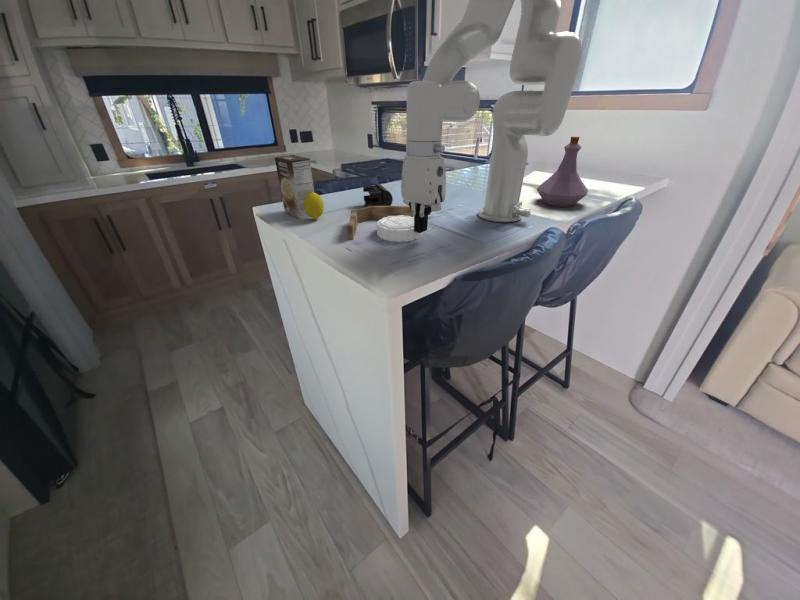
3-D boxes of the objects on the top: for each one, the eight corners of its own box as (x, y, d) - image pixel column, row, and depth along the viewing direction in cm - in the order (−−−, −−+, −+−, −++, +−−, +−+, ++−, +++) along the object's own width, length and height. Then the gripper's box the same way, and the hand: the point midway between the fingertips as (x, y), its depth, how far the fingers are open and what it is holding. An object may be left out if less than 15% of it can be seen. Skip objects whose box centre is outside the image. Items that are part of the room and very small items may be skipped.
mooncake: (431, 236, 84) (432, 223, 83) (392, 246, 79) (392, 232, 77) (405, 223, 93) (405, 211, 91) (368, 231, 87) (367, 218, 85)
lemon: (308, 223, 92) (304, 194, 88) (304, 218, 96) (299, 190, 92) (327, 220, 94) (324, 192, 90) (322, 215, 99) (318, 188, 94)
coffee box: (283, 213, 101) (273, 156, 92) (301, 208, 105) (293, 154, 96) (300, 219, 95) (290, 160, 87) (318, 214, 99) (310, 157, 91)
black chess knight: (393, 211, 103) (392, 189, 99) (371, 213, 101) (370, 190, 97) (384, 202, 111) (383, 182, 107) (363, 204, 109) (362, 183, 105)
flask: (549, 194, 120) (564, 133, 110) (595, 204, 109) (615, 137, 98) (523, 201, 112) (535, 136, 101) (569, 213, 101) (589, 141, 90)
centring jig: (415, 218, 96) (415, 206, 95) (350, 240, 82) (349, 226, 80) (392, 211, 102) (391, 199, 100) (327, 230, 87) (325, 217, 86)
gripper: (462, 151, 69) (454, 234, 78) (409, 145, 77) (408, 220, 87) (440, 154, 64) (435, 243, 74) (386, 147, 73) (388, 227, 82)
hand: (420, 230), depth 80 cm, fingers closed
